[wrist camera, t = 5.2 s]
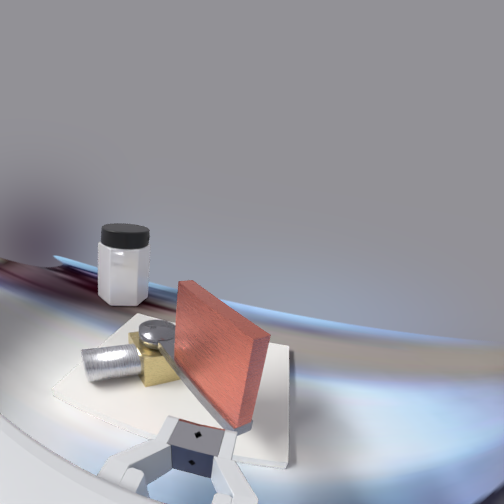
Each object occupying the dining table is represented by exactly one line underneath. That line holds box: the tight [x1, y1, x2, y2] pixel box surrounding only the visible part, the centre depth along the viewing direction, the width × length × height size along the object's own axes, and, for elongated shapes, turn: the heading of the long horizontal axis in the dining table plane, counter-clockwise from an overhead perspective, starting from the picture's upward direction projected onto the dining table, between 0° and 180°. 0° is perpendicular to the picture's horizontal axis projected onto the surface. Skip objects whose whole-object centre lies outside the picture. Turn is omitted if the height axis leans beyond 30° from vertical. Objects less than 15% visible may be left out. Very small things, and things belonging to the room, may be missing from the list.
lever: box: [139, 280, 271, 436], centre depth 22 cm, size 16×4×8 cm, turn 39°
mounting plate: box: [51, 313, 289, 469], centre depth 29 cm, size 22×20×1 cm
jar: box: [98, 224, 151, 306], centre depth 44 cm, size 9×8×12 cm
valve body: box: [81, 331, 181, 387], centre depth 27 cm, size 16×5×4 cm, turn 129°
